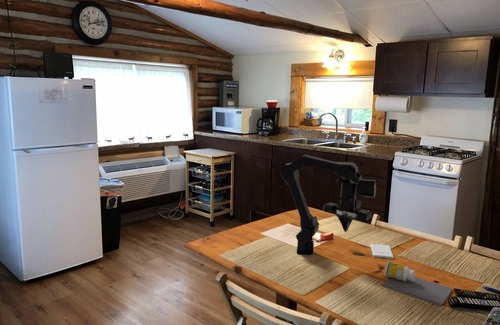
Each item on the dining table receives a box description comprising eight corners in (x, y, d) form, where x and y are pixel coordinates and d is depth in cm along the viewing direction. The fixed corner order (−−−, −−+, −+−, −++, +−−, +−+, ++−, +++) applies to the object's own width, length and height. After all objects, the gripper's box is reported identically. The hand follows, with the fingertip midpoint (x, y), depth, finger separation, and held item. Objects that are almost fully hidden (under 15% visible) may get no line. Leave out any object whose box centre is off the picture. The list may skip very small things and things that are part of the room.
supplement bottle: (383, 276, 142) (410, 284, 136) (385, 261, 142) (413, 269, 137) (387, 275, 146) (413, 282, 141) (389, 261, 146) (416, 268, 141)
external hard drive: (389, 249, 173) (393, 260, 161) (370, 247, 174) (373, 258, 162) (389, 245, 172) (393, 256, 160) (370, 243, 174) (373, 254, 162)
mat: (381, 285, 138) (381, 284, 138) (395, 272, 148) (395, 270, 148) (441, 306, 125) (441, 304, 125) (452, 290, 136) (452, 288, 136)
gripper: (378, 194, 155) (375, 232, 157) (336, 187, 166) (334, 221, 169) (367, 200, 146) (364, 239, 149) (323, 191, 158) (321, 228, 161)
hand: (345, 231), depth 157 cm, fingers closed
